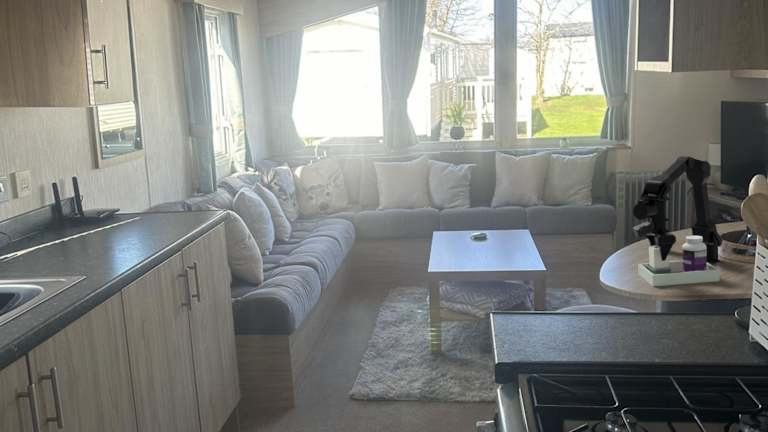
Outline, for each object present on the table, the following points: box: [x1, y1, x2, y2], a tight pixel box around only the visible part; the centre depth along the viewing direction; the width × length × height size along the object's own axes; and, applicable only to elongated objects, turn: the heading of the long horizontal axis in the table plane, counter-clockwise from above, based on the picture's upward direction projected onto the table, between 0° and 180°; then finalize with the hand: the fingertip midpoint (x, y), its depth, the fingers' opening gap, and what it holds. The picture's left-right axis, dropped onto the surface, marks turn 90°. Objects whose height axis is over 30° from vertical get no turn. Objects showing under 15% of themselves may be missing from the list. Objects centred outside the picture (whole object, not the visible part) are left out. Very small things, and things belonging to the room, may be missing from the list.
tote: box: [637, 260, 720, 287], centre depth 270 cm, size 23×16×4 cm
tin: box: [646, 264, 672, 275], centre depth 271 cm, size 7×7×5 cm
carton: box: [648, 245, 669, 268], centre depth 269 cm, size 5×5×8 cm
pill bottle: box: [681, 235, 708, 272], centre depth 269 cm, size 8×8×14 cm
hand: (658, 257), depth 269 cm, fingers open, 9 cm apart
